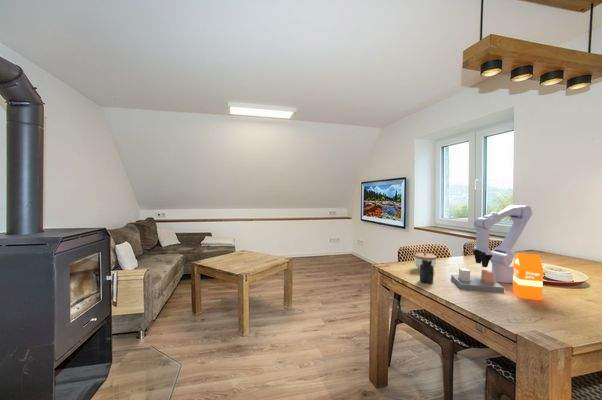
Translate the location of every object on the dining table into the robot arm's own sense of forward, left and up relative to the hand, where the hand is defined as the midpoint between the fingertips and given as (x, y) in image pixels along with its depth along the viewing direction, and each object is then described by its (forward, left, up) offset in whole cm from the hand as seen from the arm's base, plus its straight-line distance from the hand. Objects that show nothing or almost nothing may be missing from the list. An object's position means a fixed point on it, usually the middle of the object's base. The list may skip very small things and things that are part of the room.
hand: (481, 265), depth 148 cm
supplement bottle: (+29, +6, -10) cm, 31 cm away
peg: (-1, +6, -9) cm, 11 cm away
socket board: (+5, +6, -9) cm, 12 cm away
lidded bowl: (+25, -18, -10) cm, 32 cm away
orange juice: (-13, +16, -10) cm, 23 cm away
